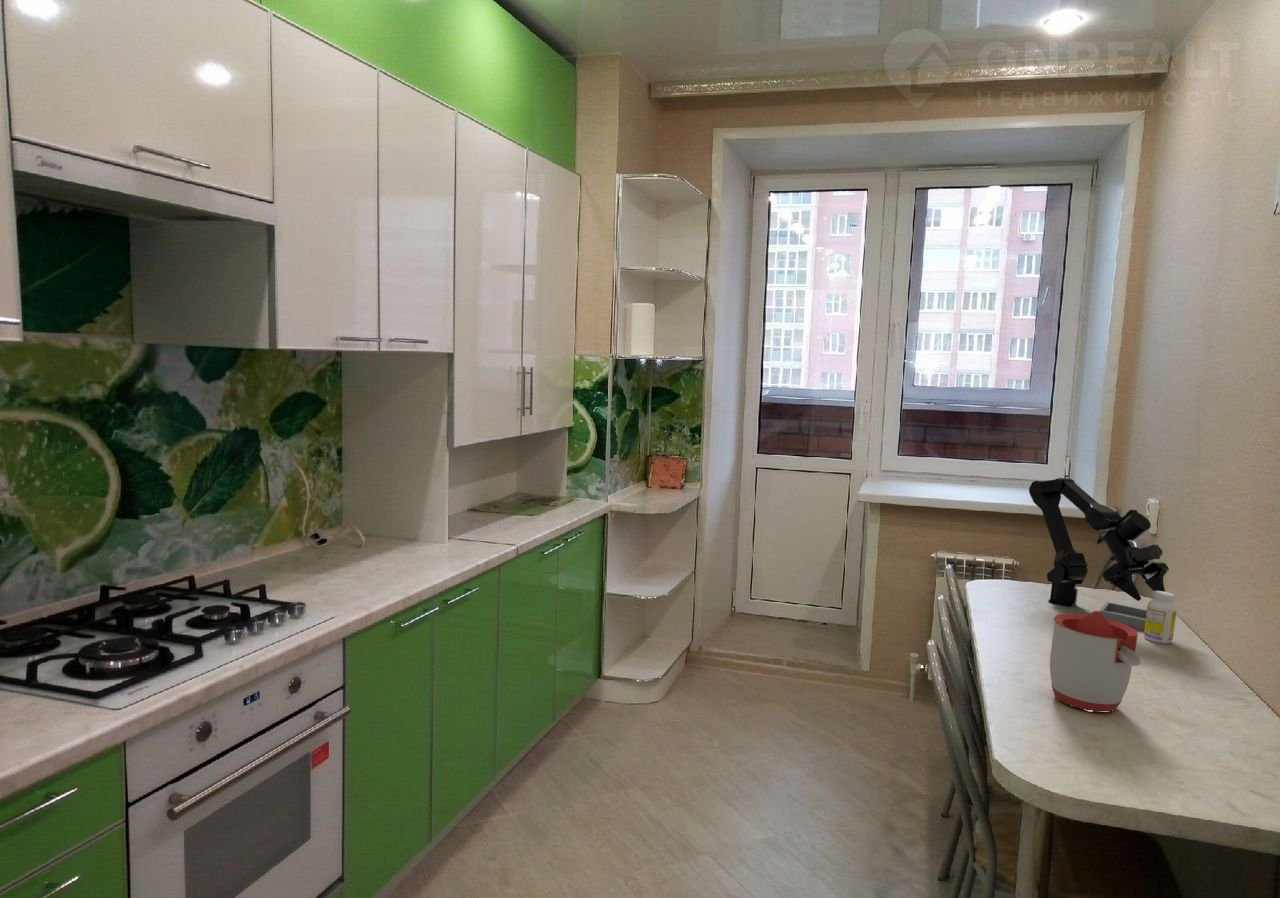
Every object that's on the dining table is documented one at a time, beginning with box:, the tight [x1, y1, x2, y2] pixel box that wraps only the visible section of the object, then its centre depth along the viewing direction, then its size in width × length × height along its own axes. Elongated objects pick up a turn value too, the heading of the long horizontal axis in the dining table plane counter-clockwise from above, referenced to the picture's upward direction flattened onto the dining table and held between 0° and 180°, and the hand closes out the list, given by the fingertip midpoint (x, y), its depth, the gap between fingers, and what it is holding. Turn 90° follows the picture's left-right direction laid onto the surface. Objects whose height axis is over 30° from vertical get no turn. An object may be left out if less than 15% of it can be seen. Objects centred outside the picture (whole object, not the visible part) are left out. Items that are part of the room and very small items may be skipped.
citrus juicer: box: [1049, 610, 1141, 712], centre depth 178 cm, size 16×17×20 cm
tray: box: [1098, 601, 1147, 632], centre depth 243 cm, size 13×13×3 cm
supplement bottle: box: [1143, 591, 1178, 644], centre depth 227 cm, size 7×7×13 cm
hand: (1152, 599), depth 230 cm, fingers open, 9 cm apart
